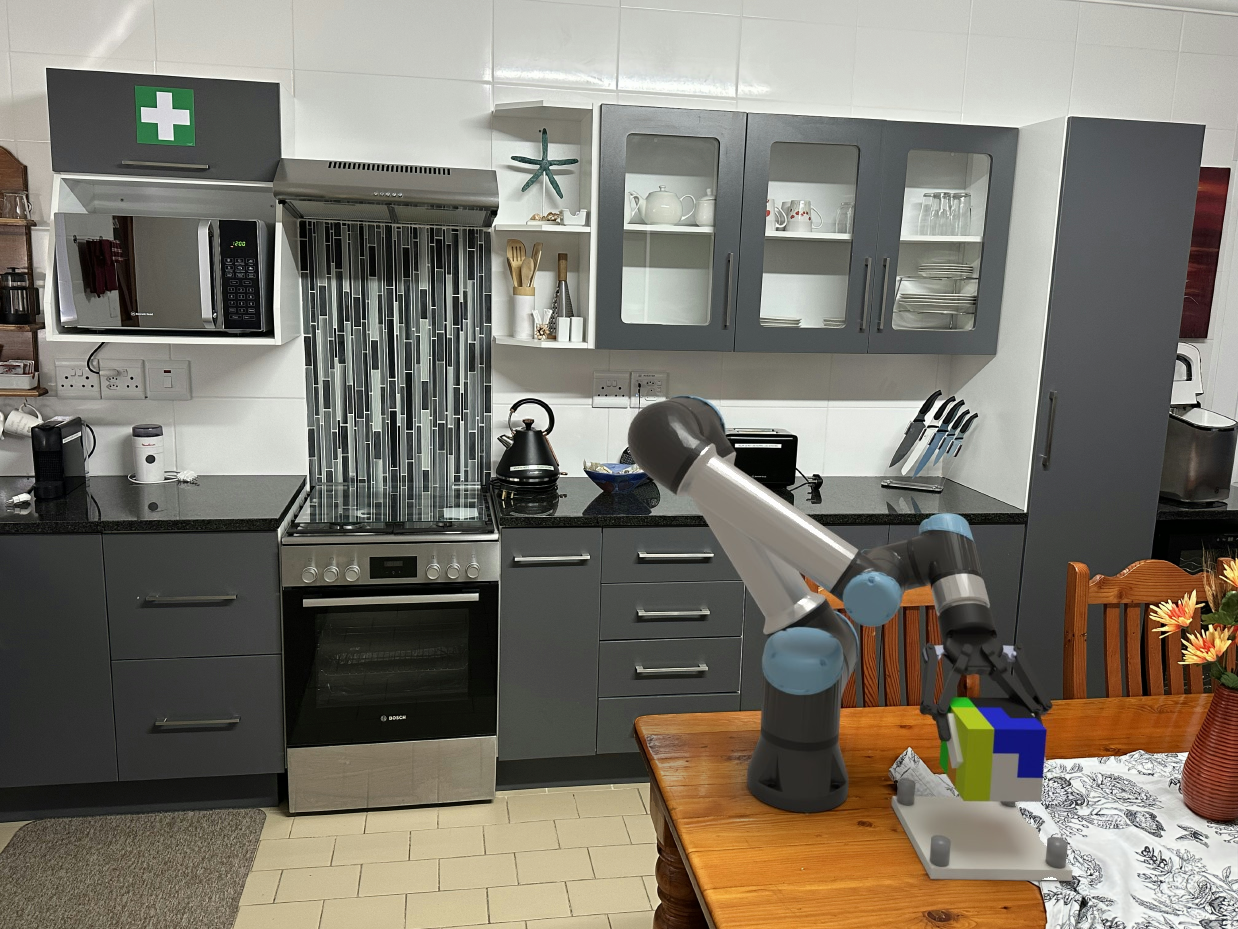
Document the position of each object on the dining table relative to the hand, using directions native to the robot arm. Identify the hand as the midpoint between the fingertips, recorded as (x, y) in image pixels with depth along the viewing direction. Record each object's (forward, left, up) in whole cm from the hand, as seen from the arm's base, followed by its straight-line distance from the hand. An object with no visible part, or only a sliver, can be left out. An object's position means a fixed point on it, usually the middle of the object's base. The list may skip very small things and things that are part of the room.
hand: (998, 765), depth 124 cm
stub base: (-1, +3, -13) cm, 13 cm away
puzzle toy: (0, +3, -4) cm, 5 cm away
